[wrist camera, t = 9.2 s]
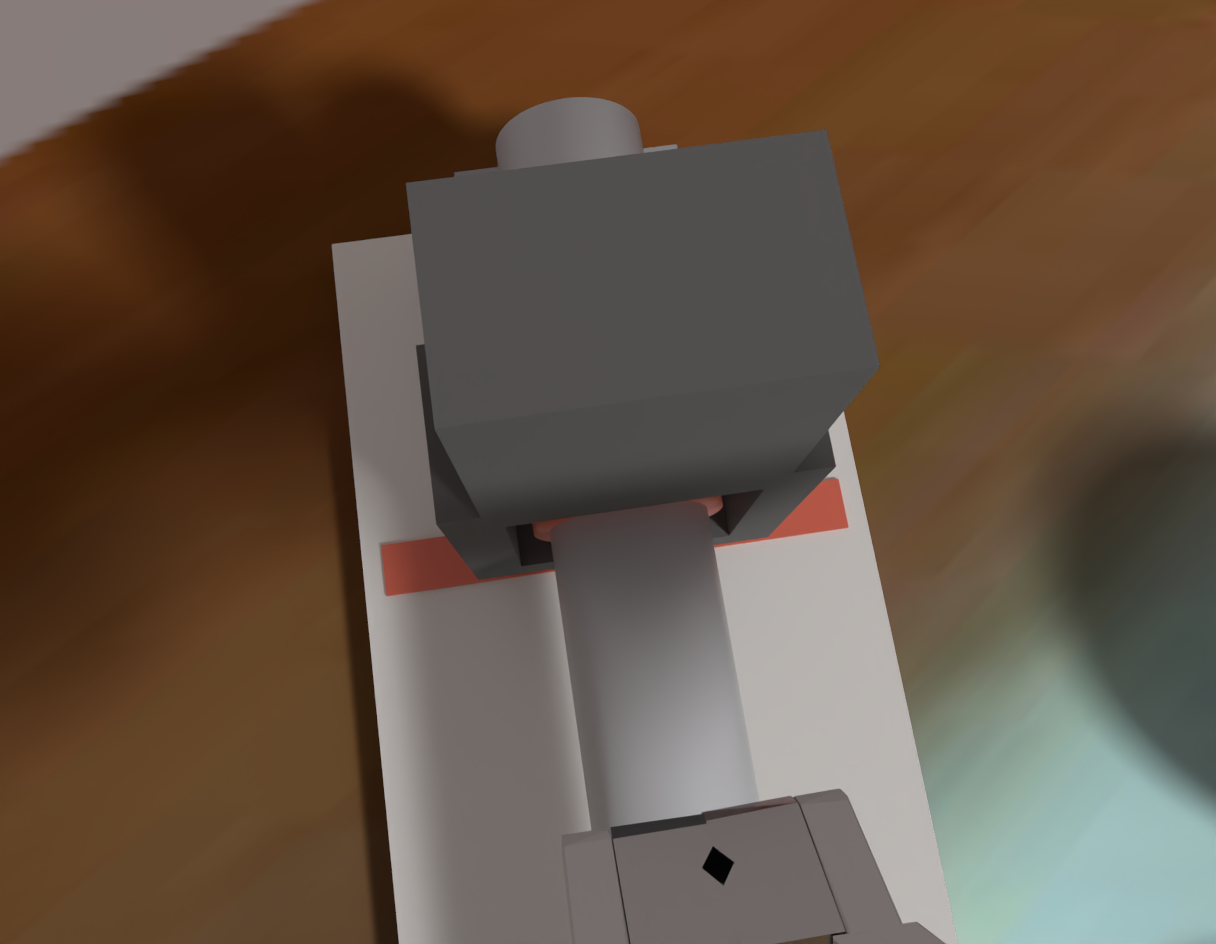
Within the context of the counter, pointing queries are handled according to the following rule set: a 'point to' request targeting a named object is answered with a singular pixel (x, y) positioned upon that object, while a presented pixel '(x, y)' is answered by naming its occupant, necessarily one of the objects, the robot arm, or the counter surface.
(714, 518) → the collar
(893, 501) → the counter surface
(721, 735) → the pipe stand
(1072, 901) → the counter surface
